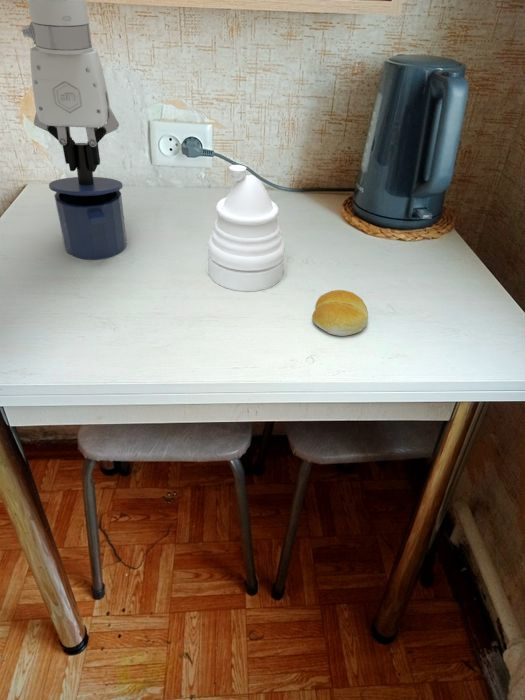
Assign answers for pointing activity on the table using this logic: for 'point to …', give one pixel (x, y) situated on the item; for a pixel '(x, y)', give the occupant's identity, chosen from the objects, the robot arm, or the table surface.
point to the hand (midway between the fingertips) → (84, 167)
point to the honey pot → (246, 237)
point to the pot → (92, 224)
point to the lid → (84, 179)
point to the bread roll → (340, 313)
